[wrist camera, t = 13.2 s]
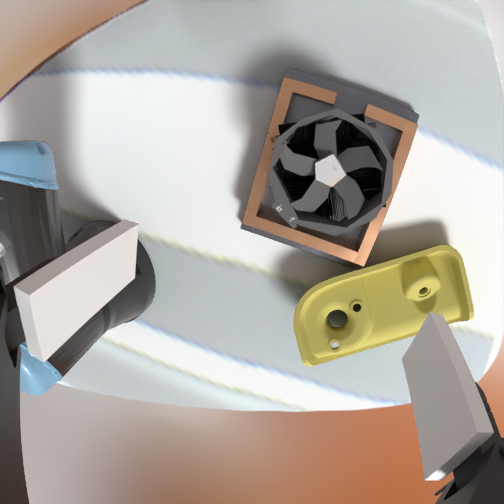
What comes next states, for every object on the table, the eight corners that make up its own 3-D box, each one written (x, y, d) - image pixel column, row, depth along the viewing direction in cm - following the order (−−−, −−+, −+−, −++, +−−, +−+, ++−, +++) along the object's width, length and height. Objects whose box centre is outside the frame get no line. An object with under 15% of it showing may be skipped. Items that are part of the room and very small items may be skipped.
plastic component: (457, 239, 29) (476, 328, 27) (439, 246, 36) (456, 320, 34) (284, 289, 34) (305, 378, 32) (295, 288, 41) (313, 361, 40)
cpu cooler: (385, 103, 21) (399, 230, 24) (374, 108, 26) (388, 212, 29) (253, 121, 24) (276, 242, 27) (267, 122, 29) (285, 223, 32)
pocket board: (243, 225, 36) (236, 233, 34) (288, 69, 29) (284, 64, 26) (359, 266, 35) (361, 277, 32) (416, 115, 27) (424, 113, 25)
